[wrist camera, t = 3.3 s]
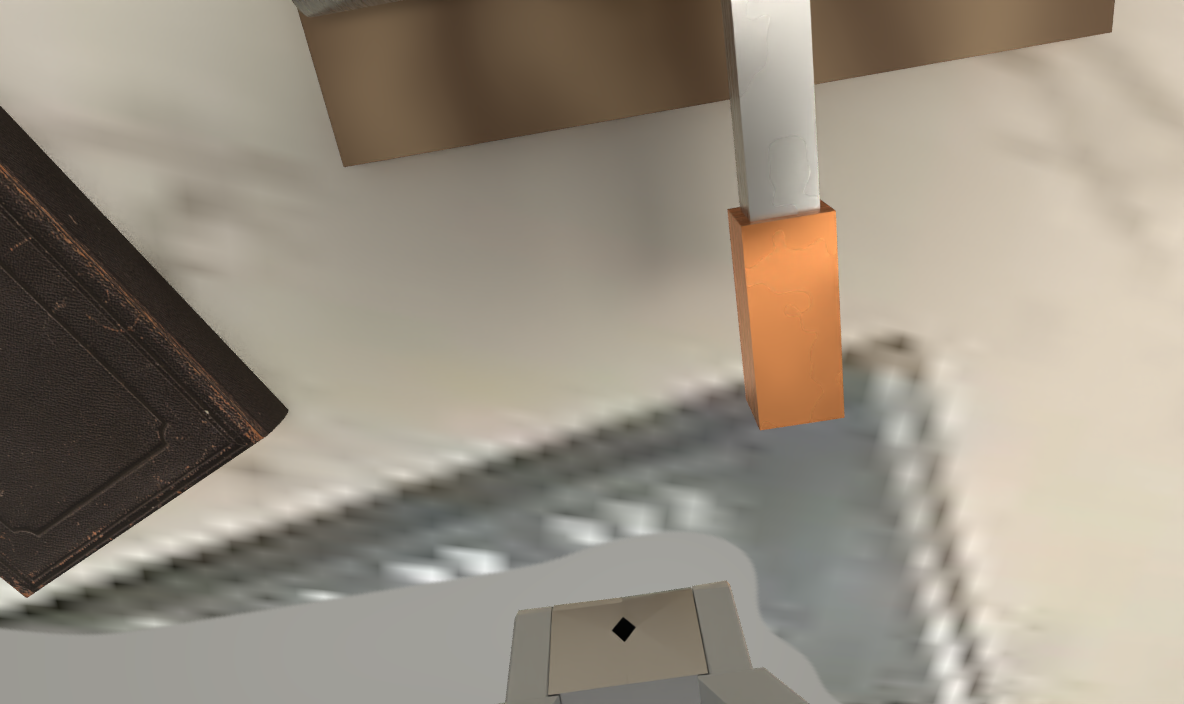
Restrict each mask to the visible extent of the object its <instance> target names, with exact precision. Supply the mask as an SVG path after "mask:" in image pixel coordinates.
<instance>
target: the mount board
mask: <svg viewBox="0 0 1184 704" xmlns="http://www.w3.org/2000/svg"><path fill="white" fill-rule="evenodd" d="M1114 3H1115V0H810V14H811V34H812V54H813V74H814V84H820V83H825V82H831V81H837V80H842V79H848V78H854V77H860V76H865V75H871V74H877V73H882V72H888V71H894V70H899V69H905V68H911V67H916V66H922V65H928V64H933V63H939V62H945V61H951V60H956V59H962V58H968V57H973V56H979V55H985V54H990V53H996V52H1002V51H1007V50H1013V49H1019V48H1024V47H1030V46H1036V45H1042V44H1047V43H1053V42H1059V41H1064V40H1070V39H1076V38H1081V37H1087V36H1093V35H1098V34H1104V33H1110V32H1112V25H1113V14H1114ZM297 9H298V8H297ZM298 12H299V16H300V19H301V23H302V26H303V29H304V33H305V36H306V40H307V43H308V46H309V50H310V53H311V57H312V60H313V64H314V67H315V70H316V74H317V77H318V81H319V84H320V87H321V91H322V94H323V98H324V101H325V105H326V108H327V111H328V115H329V118H330V122H331V125H332V128H333V132H334V135H335V139H336V142H337V146H338V149H339V152H340V156H341V159H342V163H343V166H344V167H348V166H353V165H359V164H365V163H370V162H376V161H382V160H387V159H393V158H399V157H405V156H410V155H416V154H422V153H427V152H433V151H439V150H444V149H450V148H456V147H461V146H467V145H473V144H478V143H484V142H490V141H496V140H501V139H507V138H513V137H518V136H524V135H530V134H535V133H541V132H547V131H552V130H558V129H564V128H569V127H575V126H581V125H587V124H592V123H598V122H604V121H609V120H615V119H621V118H626V117H632V116H638V115H643V114H649V113H655V112H660V111H666V110H672V109H678V108H683V107H689V106H695V105H700V104H706V103H712V102H717V101H723V100H729V99H730V94H729V83H728V72H727V61H726V50H725V39H724V29H723V18H722V7H721V0H402V1H396V2H391V3H386V4H380V5H375V6H370V7H364V8H359V9H354V10H348V11H343V12H338V13H332V14H327V15H322V16H316V17H311V18H310V17H307V16H305V15H304V14H303V13H302V12H301V11H300V10H299V9H298Z"/></svg>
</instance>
